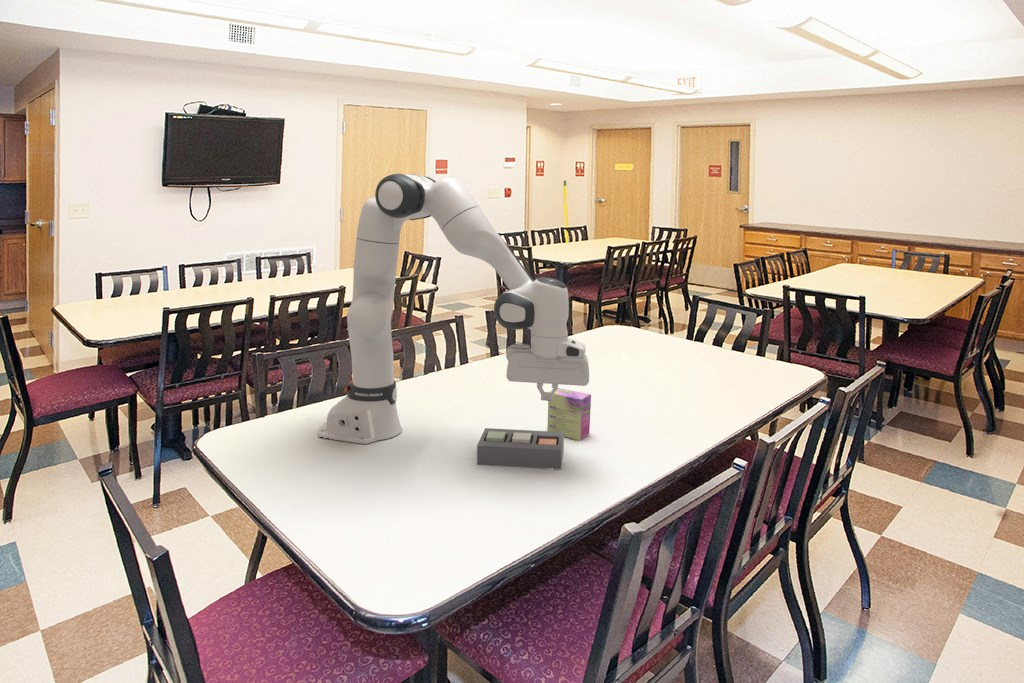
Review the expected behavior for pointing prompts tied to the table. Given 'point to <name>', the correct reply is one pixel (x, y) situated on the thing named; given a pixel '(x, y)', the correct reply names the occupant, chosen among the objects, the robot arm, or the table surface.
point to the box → (569, 413)
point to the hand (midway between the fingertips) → (547, 400)
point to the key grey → (521, 438)
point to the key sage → (496, 436)
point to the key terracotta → (548, 441)
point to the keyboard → (521, 450)
